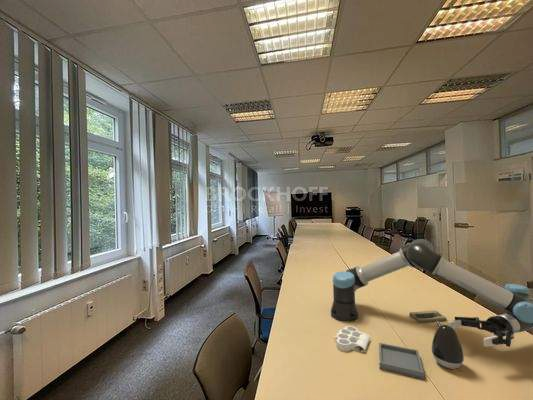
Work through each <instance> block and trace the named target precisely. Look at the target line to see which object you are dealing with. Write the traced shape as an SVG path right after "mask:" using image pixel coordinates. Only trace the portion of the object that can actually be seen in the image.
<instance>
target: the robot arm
mask: <svg viewBox="0 0 533 400" xmlns="http://www.w3.org/2000/svg"><path fill="white" fill-rule="evenodd" d="M407 267H410V268H415V267H417V268H420V269H421V270H423V271H426V272H427V273H429V274H431V275H434V274H435V275H438V276H440V277H442V278H444V279H446V280H447V281H449V282H452V283H453V284H455V285H457V286H459V287H461V288H463V289H465V290H467V291H469V292H471V293H472V294H475V295H477V296H479V297H480V298H482V299H484V300H486V301H488V302H490V303H492V304H493V305H496V306H497V307H499V308H501V309H503V310H505V313H503V314H498V315H494V316H490V317H488V318H487V319H486V320H482V319H480V318H479V317H478V316H475V317H474V316H473V317H467V316H454V320H451V321H448V322H447V323H448V324H447V325H448V326H450V327H452V328H453V329H457V328H462V327H468V328H475V329H478V330H480V331H481V330H482V331H486V332H489V333H490V334H493V335H492V336H488V337H483V340H482V341H483V346H484V347H489V346H490V347H491V346H494V345H505V346H506V347H509V348H510V347H511V343H512V340H513V339H514V338H515V335H514V334H517V333H522V332H523V333H524V332H528V331H530V330H532V329H533V301H532V299H531V298H530V290H529V288H528V287H526V286H524V285H521V284H516V283H507V284H505V286H504V287H502V286H499V285H498V284H496V283H494V282H492V281H490V280H487V279H485V278H483V277H481V276H479V275H477V274H475V273H473V272H471V271H469V270H467V269H464V268H463V267H460V266H458V265H457V264H454V263H452V262H451V261H448V260H447V259H444V257H443V255H441V254H439V253H437V252H436V250H435V247H434V246H433V244H432V243H431V242H430V241H429V240H427V239H423V238H422V239H421V238H418V239H414V240H413V241H411V242H410V243H407V244H405V245H403V246H401V247H399V251H397V252H395V253H392V254H389V255H387V256H385V257H382V258H381V259H379V260H375V261H374V262H371V263H369V264H366V265H364V266H359V265H358V266H355V267H353V268H348V269H346V270H345V271H344V270H342V271H341V270H340V271H337V272H335V273H334V274H333V276H332V292H333V293H332V295H333V302H332V305H331V308H330V316H331V317H332V318H333V319H335V320H337V321H340V322H347V323H349V322H350V323H351V322H352V323H353V322H355V321H357V320H359V318H360V316H359V310H358V308H357V304H356V291H357V290H359V289H360V288H361V289H362V288H364V287H366V286H368V285H369V282H371V281H373V280H376V279H379V278H382V277H383V276H386V275H388V274H391V273H393V272H397V271H399V270H402V269H404V268H407ZM504 337H505V338H504Z"/></svg>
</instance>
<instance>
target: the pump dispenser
mask: <svg viewBox="0 0 533 400" xmlns="http://www.w3.org/2000/svg"><path fill="white" fill-rule="evenodd" d="M435 323H436V326H437V329H436V330H435V332H434V335H433V338H432V344H431V353H432V355H433V358H434V360H435V361H436V362H437V363H438V364H439V365H440V366H442V367H444V368H447V369H452V370H455V369H459V368H460V367H461V366H462V364H463V362H464V360H465V357H464V352H463V348H462V344H461V340H460V338H459V336H458V334H457V332H456V330H455V328H452V327H450V326H448V324H441V322H438V321H437V322H435Z"/></svg>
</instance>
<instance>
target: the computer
mask: <svg viewBox="0 0 533 400" xmlns="http://www.w3.org/2000/svg"><path fill="white" fill-rule="evenodd" d="M408 316H409V318H411V319H412V320H414V321H415V322H417V323H419V324H426V323H436V322H437V321H438V322H439V323H441V322H446V321H447V317H446V316H445V315H444V314H442V313H441V312H439V311H438V310H421V311H410V312H409V314H408Z"/></svg>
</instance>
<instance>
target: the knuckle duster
mask: <svg viewBox="0 0 533 400" xmlns="http://www.w3.org/2000/svg"><path fill="white" fill-rule="evenodd" d="M333 339H334V340H336V349H338V350H339V351H340V352H345V351H347V352H351V351H356V352H359V353H365V352H366V351H367V347H368V346H369V342H370V340H371V336H370V335H369V334H368V333H365V332H362V331H359V330H358V328H357V327H355V326H352V325H345V327H344V328H341V329H339V330H338V331H337V333H336V336H334V337H333ZM359 346H360V348H362V349H363V348H364V349H363V350H362V349H361V350H362V352H360V351H361V350H360V349H359Z"/></svg>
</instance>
